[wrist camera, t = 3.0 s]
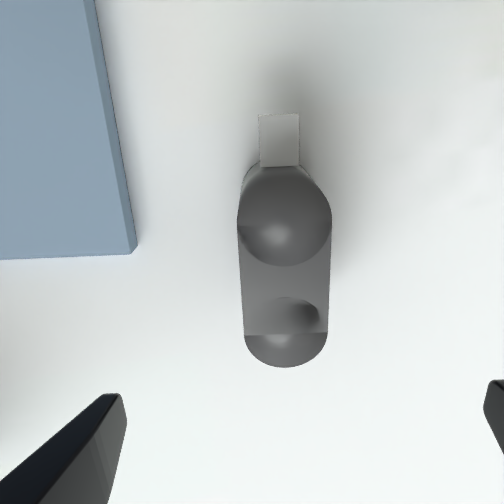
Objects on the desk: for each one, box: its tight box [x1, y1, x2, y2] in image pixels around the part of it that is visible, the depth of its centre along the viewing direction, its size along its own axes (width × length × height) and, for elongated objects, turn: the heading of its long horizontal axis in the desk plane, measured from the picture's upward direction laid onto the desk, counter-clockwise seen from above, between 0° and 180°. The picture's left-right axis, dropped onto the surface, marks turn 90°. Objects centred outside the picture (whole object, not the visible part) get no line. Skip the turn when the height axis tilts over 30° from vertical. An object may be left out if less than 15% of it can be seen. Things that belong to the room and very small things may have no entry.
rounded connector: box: [237, 113, 332, 368], centre depth 17 cm, size 11×4×5 cm, turn 3°
